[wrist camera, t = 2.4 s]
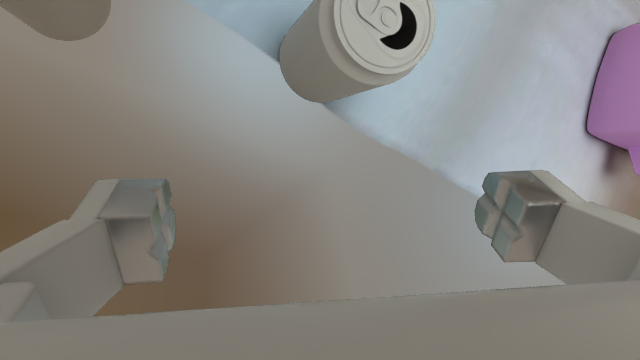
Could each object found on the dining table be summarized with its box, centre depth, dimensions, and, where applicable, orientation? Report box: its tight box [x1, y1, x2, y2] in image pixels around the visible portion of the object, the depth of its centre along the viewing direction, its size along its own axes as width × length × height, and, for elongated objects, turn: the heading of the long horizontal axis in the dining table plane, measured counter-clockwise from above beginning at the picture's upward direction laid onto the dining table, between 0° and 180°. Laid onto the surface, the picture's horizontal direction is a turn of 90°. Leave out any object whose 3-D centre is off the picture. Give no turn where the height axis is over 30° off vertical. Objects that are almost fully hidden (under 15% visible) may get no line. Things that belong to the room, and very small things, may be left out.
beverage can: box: [280, 0, 435, 103], centre depth 25 cm, size 6×6×12 cm
